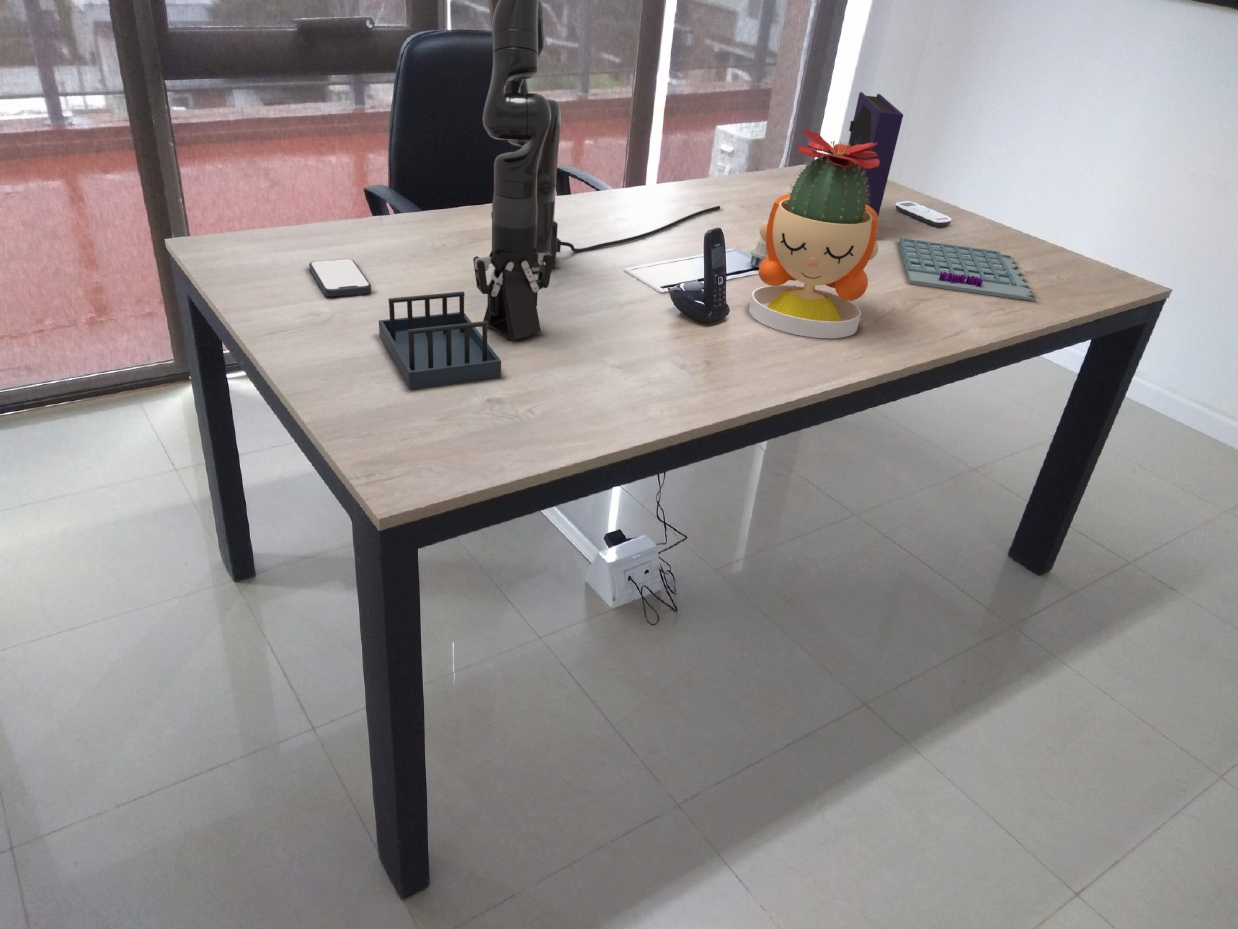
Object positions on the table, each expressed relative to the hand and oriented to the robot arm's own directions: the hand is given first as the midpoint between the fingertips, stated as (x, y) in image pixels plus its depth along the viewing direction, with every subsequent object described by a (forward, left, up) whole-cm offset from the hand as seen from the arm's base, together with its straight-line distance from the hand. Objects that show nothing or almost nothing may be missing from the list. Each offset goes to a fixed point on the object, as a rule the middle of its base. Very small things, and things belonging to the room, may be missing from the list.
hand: (512, 311), depth 161 cm
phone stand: (0, 0, -3) cm, 3 cm away
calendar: (-113, -5, -4) cm, 113 cm away
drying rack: (+15, +6, -4) cm, 17 cm away
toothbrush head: (-75, -20, -4) cm, 77 cm away
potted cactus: (-59, +7, -4) cm, 59 cm away
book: (-107, -39, -4) cm, 114 cm away
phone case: (+24, -30, -4) cm, 39 cm away
